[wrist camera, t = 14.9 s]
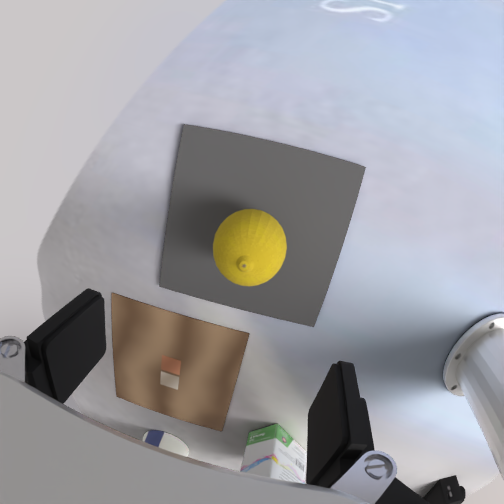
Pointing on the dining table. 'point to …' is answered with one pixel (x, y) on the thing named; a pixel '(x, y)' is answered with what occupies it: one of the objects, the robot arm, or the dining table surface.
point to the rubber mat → (261, 198)
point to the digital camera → (446, 492)
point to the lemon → (249, 247)
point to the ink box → (274, 455)
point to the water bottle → (166, 442)
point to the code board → (175, 362)
